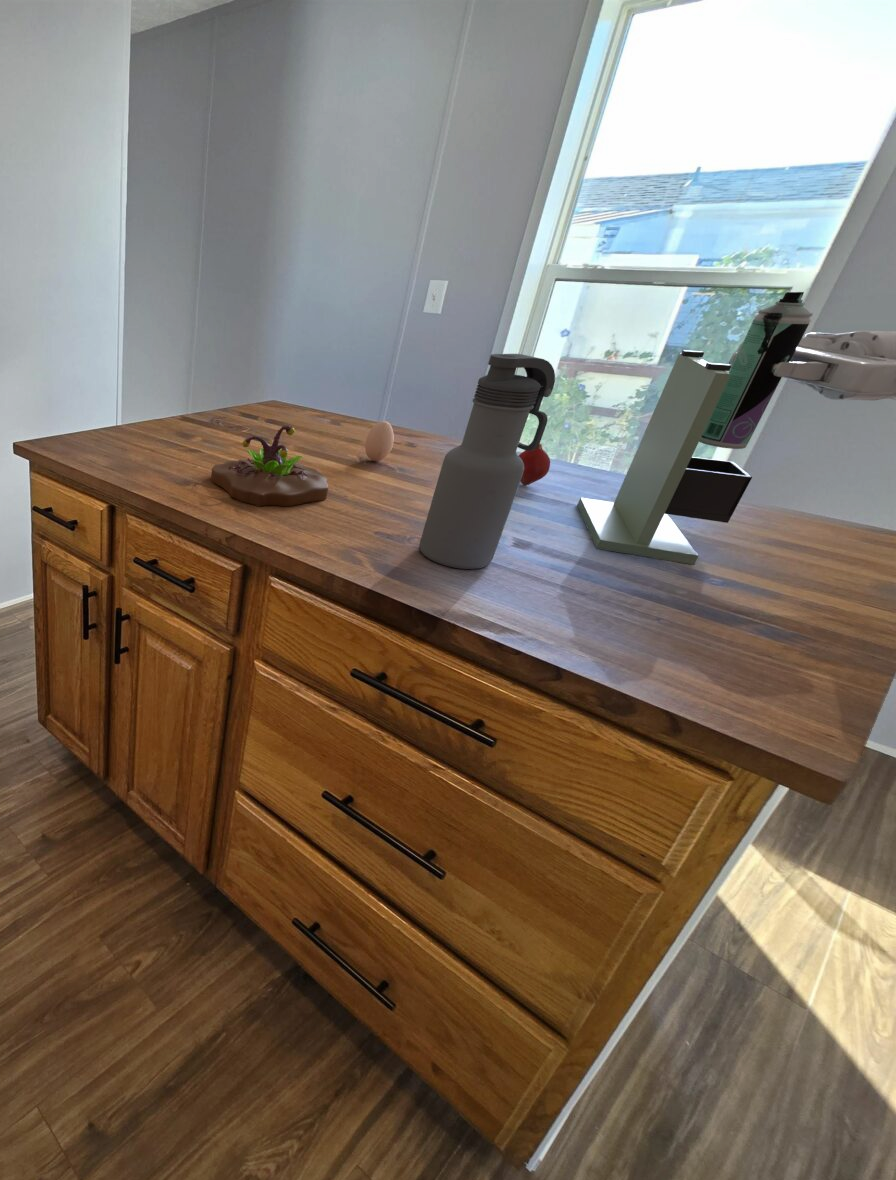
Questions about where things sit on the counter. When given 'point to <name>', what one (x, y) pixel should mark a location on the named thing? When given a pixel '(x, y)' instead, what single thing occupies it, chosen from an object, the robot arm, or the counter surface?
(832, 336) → the robot arm
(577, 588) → the counter surface
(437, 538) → the water bottle
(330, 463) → the counter surface
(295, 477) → the plant
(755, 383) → the spray can
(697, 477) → the white stand
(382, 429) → the egg
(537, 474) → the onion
